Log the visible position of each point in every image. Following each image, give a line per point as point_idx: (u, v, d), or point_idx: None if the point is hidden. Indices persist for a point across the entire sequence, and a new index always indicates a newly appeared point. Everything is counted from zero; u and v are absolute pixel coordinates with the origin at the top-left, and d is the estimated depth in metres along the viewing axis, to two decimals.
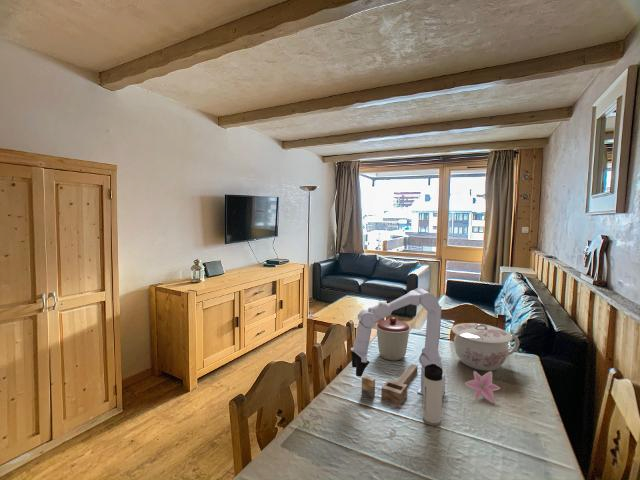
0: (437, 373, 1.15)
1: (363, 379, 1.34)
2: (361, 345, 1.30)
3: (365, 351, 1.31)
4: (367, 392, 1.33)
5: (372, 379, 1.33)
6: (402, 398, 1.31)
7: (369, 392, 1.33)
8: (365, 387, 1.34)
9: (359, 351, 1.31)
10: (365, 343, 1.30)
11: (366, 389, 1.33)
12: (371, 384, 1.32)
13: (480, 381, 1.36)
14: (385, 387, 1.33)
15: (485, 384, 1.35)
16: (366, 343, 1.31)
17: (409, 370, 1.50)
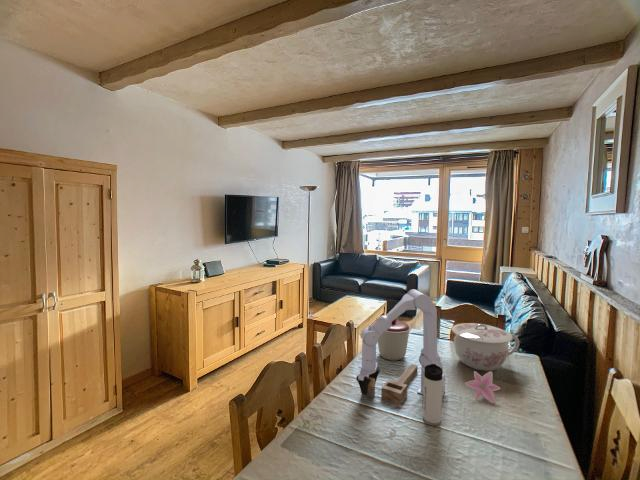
0: (437, 373, 1.15)
1: None
2: (364, 363, 1.31)
3: (369, 370, 1.31)
4: (367, 392, 1.33)
5: (372, 379, 1.33)
6: (402, 398, 1.31)
7: (369, 392, 1.33)
8: None
9: (363, 369, 1.32)
10: (367, 361, 1.31)
11: None
12: (371, 384, 1.32)
13: (480, 381, 1.36)
14: (385, 387, 1.33)
15: (485, 384, 1.35)
16: (368, 362, 1.30)
17: (409, 370, 1.50)
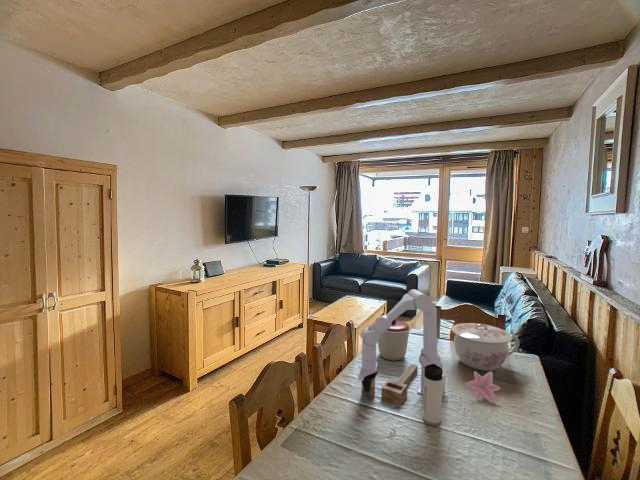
0: (437, 373, 1.15)
1: None
2: (364, 363, 1.31)
3: (369, 370, 1.31)
4: (367, 392, 1.33)
5: (372, 379, 1.33)
6: (402, 398, 1.31)
7: (369, 392, 1.33)
8: None
9: (363, 369, 1.32)
10: (367, 361, 1.31)
11: None
12: (371, 384, 1.32)
13: (480, 381, 1.36)
14: (385, 387, 1.33)
15: (485, 384, 1.35)
16: (368, 362, 1.30)
17: (409, 370, 1.50)
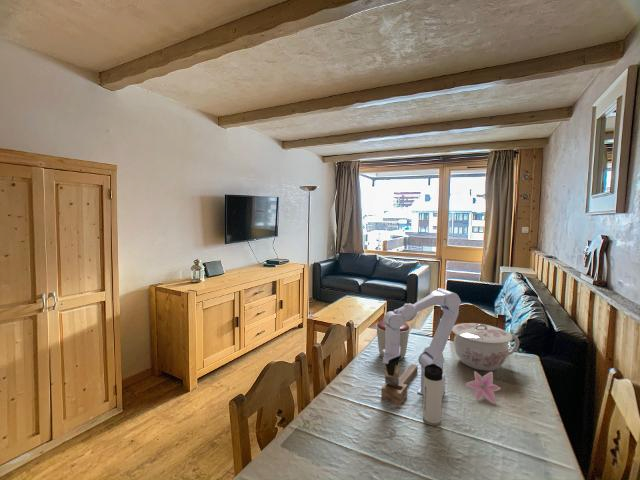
0: (437, 373, 1.15)
1: None
2: (388, 346, 1.31)
3: (393, 353, 1.30)
4: (391, 379, 1.33)
5: (396, 366, 1.32)
6: (402, 398, 1.31)
7: (393, 379, 1.32)
8: None
9: (387, 352, 1.31)
10: (391, 345, 1.30)
11: (390, 376, 1.33)
12: (395, 371, 1.32)
13: (480, 382, 1.36)
14: (385, 387, 1.33)
15: (486, 384, 1.35)
16: (392, 345, 1.30)
17: (409, 370, 1.50)
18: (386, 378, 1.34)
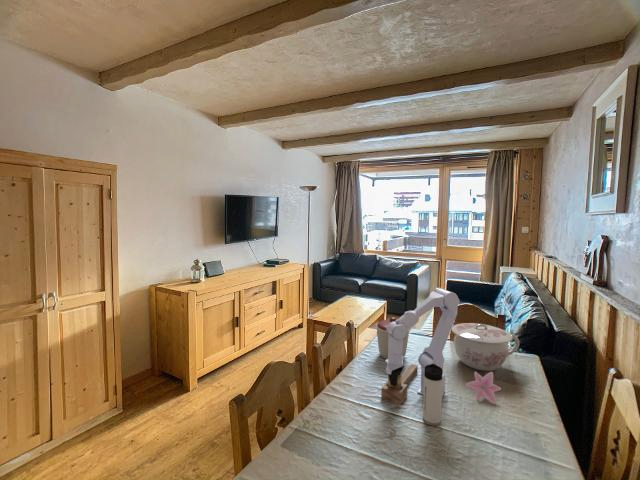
0: (437, 373, 1.15)
1: None
2: (391, 357, 1.31)
3: (396, 364, 1.30)
4: None
5: (399, 376, 1.32)
6: (402, 398, 1.31)
7: None
8: None
9: (390, 363, 1.32)
10: (394, 355, 1.30)
11: (393, 386, 1.33)
12: (398, 381, 1.32)
13: (481, 382, 1.36)
14: (385, 387, 1.33)
15: (486, 385, 1.35)
16: (395, 355, 1.30)
17: (409, 370, 1.50)
18: None
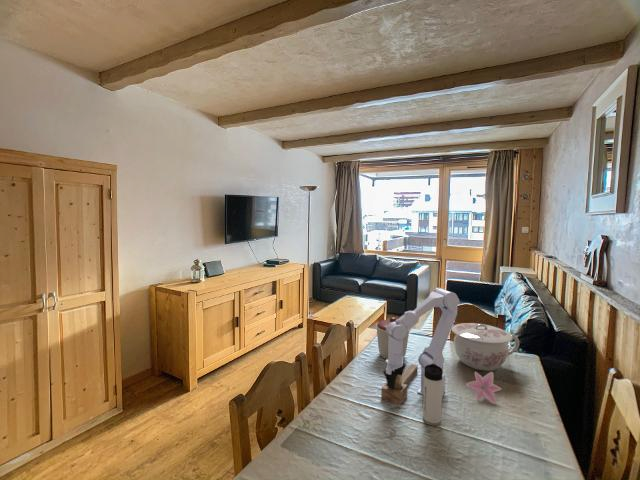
0: (437, 373, 1.15)
1: None
2: (391, 357, 1.31)
3: (396, 364, 1.30)
4: None
5: (399, 376, 1.32)
6: (402, 398, 1.31)
7: None
8: None
9: (390, 363, 1.32)
10: (394, 355, 1.30)
11: None
12: (398, 381, 1.32)
13: (481, 382, 1.36)
14: (385, 387, 1.33)
15: (486, 385, 1.35)
16: (395, 356, 1.30)
17: (409, 370, 1.50)
18: None
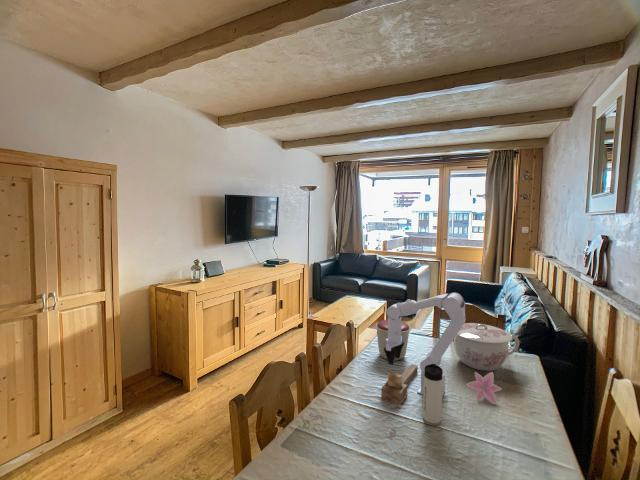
0: (437, 373, 1.15)
1: (389, 376, 1.34)
2: (390, 336, 1.44)
3: (395, 342, 1.43)
4: None
5: (399, 376, 1.32)
6: (402, 398, 1.31)
7: None
8: (391, 384, 1.34)
9: (389, 341, 1.44)
10: (393, 334, 1.43)
11: (393, 386, 1.33)
12: (398, 381, 1.32)
13: (481, 382, 1.36)
14: (385, 387, 1.33)
15: (486, 385, 1.35)
16: (394, 334, 1.43)
17: (409, 370, 1.50)
18: None
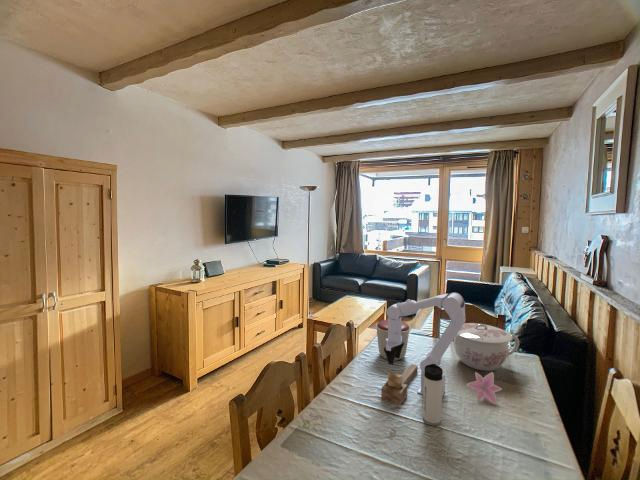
0: (437, 373, 1.15)
1: (389, 376, 1.34)
2: (390, 336, 1.44)
3: (395, 342, 1.43)
4: None
5: (399, 376, 1.32)
6: (402, 398, 1.31)
7: None
8: (391, 384, 1.34)
9: (389, 341, 1.44)
10: (393, 334, 1.43)
11: (393, 386, 1.33)
12: (398, 381, 1.32)
13: (481, 382, 1.35)
14: (385, 387, 1.33)
15: (487, 385, 1.35)
16: (394, 334, 1.43)
17: (409, 370, 1.50)
18: None
